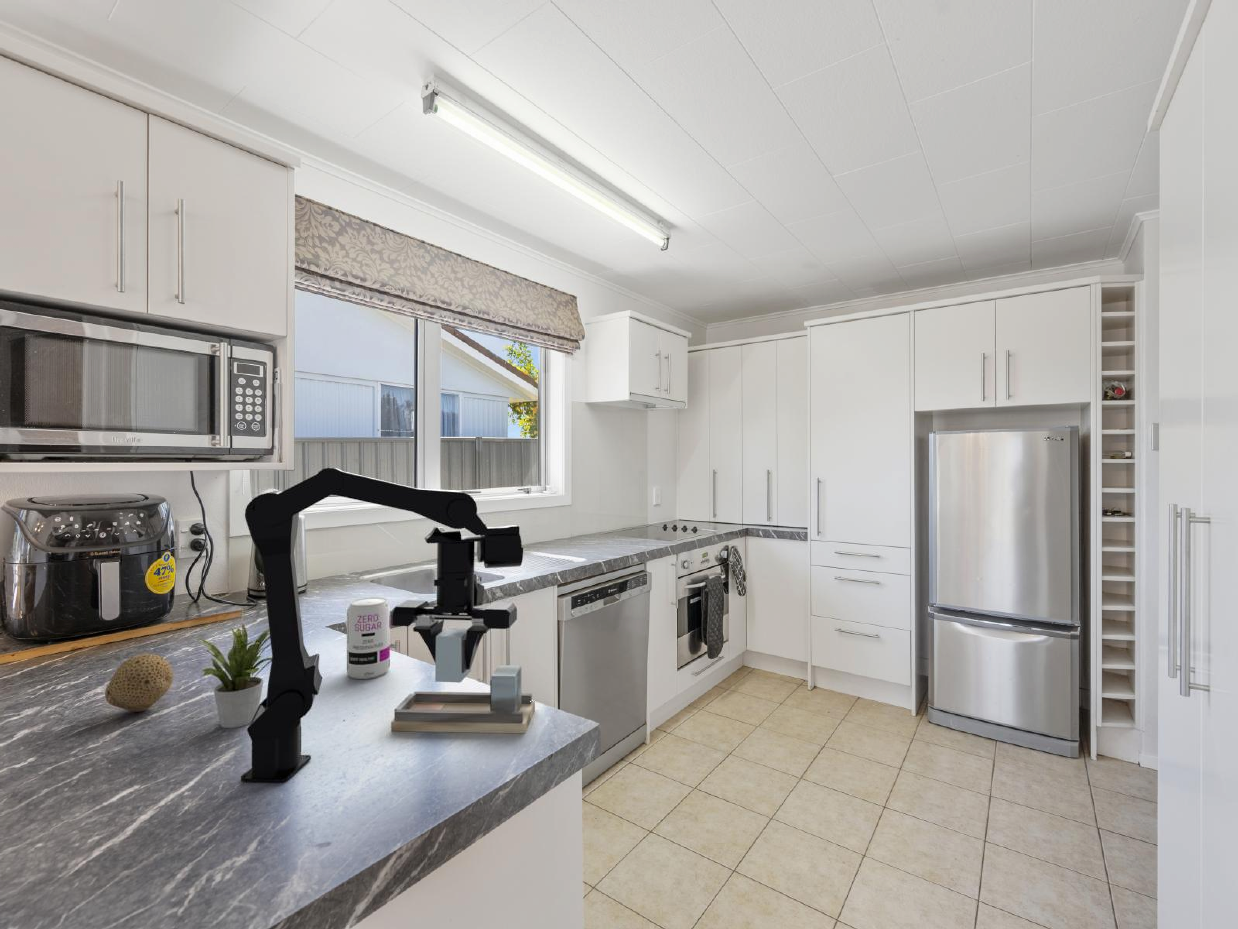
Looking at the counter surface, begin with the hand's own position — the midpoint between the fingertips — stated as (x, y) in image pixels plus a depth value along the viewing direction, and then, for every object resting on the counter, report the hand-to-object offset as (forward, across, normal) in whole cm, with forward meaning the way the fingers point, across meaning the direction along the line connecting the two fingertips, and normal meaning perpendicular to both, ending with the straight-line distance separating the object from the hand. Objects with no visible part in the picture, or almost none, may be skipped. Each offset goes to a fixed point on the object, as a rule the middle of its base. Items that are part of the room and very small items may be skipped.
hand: (454, 668), depth 91 cm
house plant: (+12, +37, -4) cm, 39 cm away
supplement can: (+12, +28, -27) cm, 41 cm away
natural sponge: (+12, +58, -6) cm, 60 cm away
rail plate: (+11, 0, -7) cm, 13 cm away
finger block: (+1, 0, 0) cm, 1 cm away
